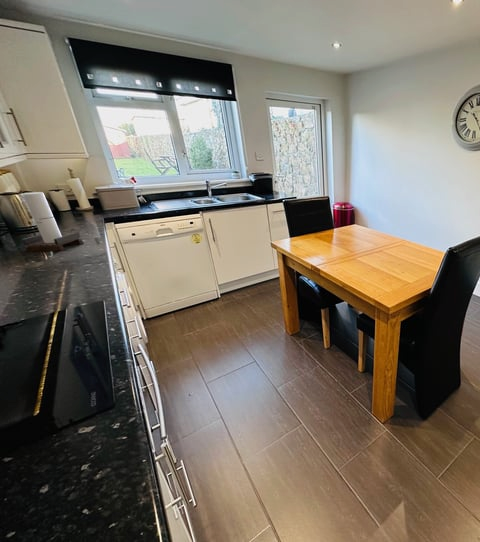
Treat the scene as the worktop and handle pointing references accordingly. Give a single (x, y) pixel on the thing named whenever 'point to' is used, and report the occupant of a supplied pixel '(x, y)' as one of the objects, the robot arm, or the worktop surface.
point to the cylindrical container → (42, 216)
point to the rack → (39, 245)
